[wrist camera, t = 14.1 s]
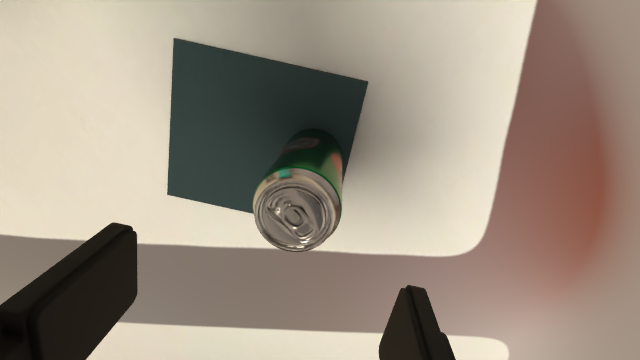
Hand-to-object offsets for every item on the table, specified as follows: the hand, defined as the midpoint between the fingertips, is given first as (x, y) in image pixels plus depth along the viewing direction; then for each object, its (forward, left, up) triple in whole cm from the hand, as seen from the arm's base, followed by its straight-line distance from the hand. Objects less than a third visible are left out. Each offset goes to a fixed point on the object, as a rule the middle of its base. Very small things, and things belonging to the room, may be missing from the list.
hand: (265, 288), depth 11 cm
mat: (0, -5, -19) cm, 19 cm away
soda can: (0, 0, -18) cm, 18 cm away
